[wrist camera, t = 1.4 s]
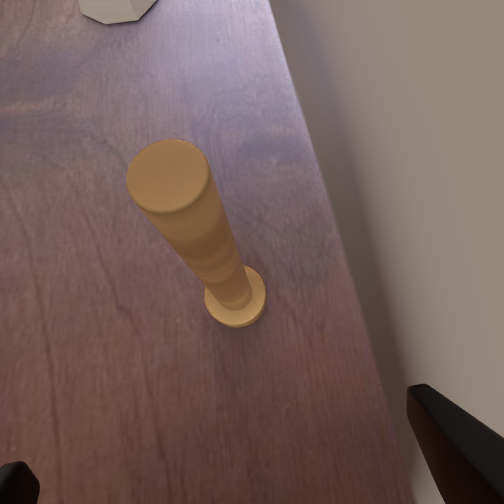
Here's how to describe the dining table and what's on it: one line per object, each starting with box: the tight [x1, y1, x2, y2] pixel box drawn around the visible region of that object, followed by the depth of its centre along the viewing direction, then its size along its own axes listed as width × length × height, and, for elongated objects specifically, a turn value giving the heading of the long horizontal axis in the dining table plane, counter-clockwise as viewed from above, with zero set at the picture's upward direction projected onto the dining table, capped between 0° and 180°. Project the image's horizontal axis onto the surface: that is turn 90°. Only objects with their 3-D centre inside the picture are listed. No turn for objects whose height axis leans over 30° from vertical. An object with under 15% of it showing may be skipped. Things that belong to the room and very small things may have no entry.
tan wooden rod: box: [127, 139, 267, 328], centre depth 15 cm, size 4×4×14 cm
